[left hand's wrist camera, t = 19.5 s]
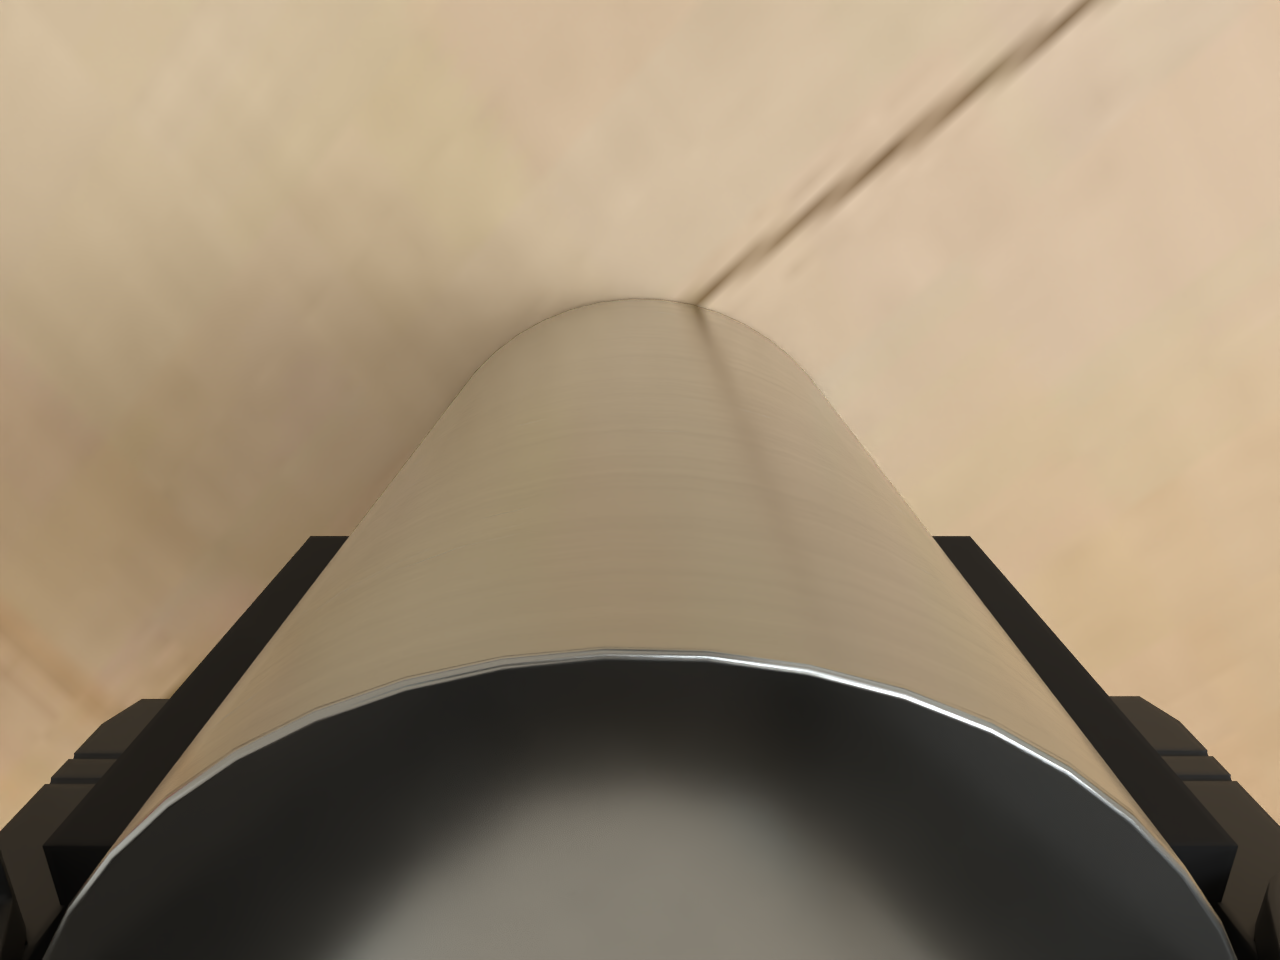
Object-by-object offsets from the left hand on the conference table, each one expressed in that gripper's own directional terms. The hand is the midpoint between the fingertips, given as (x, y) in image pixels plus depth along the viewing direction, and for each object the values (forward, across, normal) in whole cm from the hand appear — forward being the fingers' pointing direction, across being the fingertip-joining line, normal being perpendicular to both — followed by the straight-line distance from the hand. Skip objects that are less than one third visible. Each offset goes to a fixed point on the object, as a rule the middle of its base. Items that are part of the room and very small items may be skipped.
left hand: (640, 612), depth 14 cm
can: (+4, 0, 0) cm, 4 cm away
